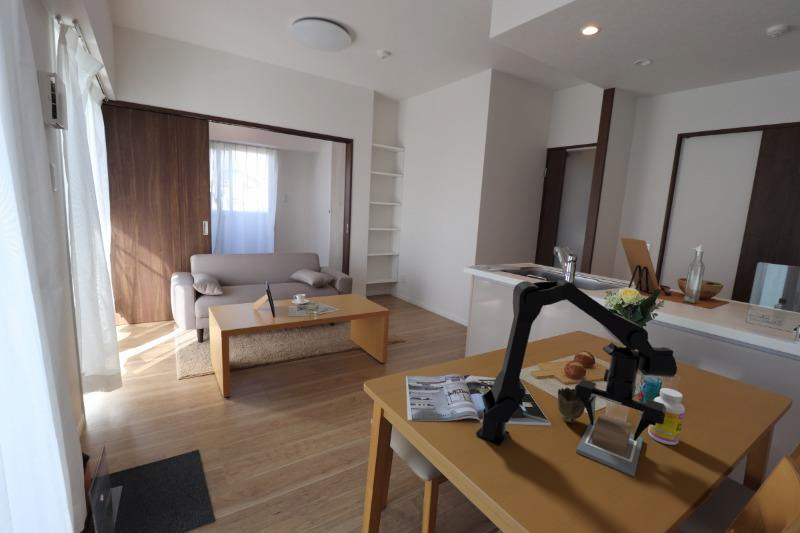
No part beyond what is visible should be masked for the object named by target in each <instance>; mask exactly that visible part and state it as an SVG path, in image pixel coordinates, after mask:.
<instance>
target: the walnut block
mask: <svg viewBox="0 0 800 533" xmlns="http://www.w3.org/2000/svg"><path fill="white" fill-rule="evenodd" d="M632 426H633V424H632V423H631V422H627V421H625V420H623V419H619V418H615V417H613V416H610V415H607V414H605V413H601V412H600V414H599V416H598V417H597V419H596V423H595V427H594V434H593V440H592V443H593V444H595V445H598V446H600V447H603V448H606V449H608V450H611V451H613V452H616V453H618V454H621V455H623V456H625V453H626V450H627V446H628V443H629V438H630V433H631V431H632Z"/></svg>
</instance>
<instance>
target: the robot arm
mask: <svg viewBox="0 0 800 533" xmlns="http://www.w3.org/2000/svg"><path fill="white" fill-rule="evenodd" d="M512 291H513V292H512V309H513V310H512V311H513V320H512V324H511V328H510V332H509V337H508V341H507V345H506V350H505V353H504V360H503V363H502V367H501V369H500V370H501V371H500V372H499V373H498V374H497V376H496V377H495V379H494V382H493V384H492V386H491V388H490V389H489V390H488V391H486V392H485V393H484V394H483V395H481V398H482V402H483V407H484V408H483V412H482V422H481V427H480V428H479V429H478V430H477V431H476V432H475V436H477V437H480V438H481V439H484V440H486V441H488V442H490V443H492V444H495V445H496V446H502V444H503V443H504V442H505V440H507V438H508V437H509V436H510V431H507V430H506V425H507V423H509V422H510V420H511V418H512V416H513V415H514V413H516V412H517V411H518V410H519V409H520V406H523V405H524V404H523V400H524V396H525V394H526V388H525V386H524V384H523V382H522V380H521V378H520V377H521V372H522V368H523V364H524V359H525V356H526V350H527V347H528V343H529V338H530V334H531V330H532V327H533V326H532V325H533V323H534V322H535V321H536V319H537V318H538V316H540V313H541V311H542V308H543V307H544V306H550V305H555V304H556V303H559V302H563V301H568V302H570V304H572V305H574V306H575V307H577V308H578V309H579V310H581V311H582V312H583V313H585V314H586V315H588V316H589V317H591V318H592V319H593V320H595V321H597V322H598V323H599V324H600V325H601V326H602V327H603V329H604V330H605V331H606V332H607V333H608V334H609V335H610V336H611V337H612V338H613V339H614V340H616V342H619V344H621V345H622V346H618V345H616V344H615V343H614V342H610V343H609V344H607V345H605V346H603V347H602V351H604V353H606V354H607V355H609V356H610V363H609V368H608V369H607V368H606V369H605V372H604V376H603V382H605V383H606V388H605V390H602V389H599V388H597V382H593V381H589V380H587V379H583V378H581V379H580V380H579V381H578V382H577V384H575V387H574V389H575V391H574V395H575V396H577V397H580V398H579V400H580V401H582V402H583V403H584V405H585V410H586V412H587V415H588V419H589V423H590V422H591V425H593V424H594V420H595V419H596V418H595V417H596V398H600V399H603V400H605V401H609V402H612V403H615V404H619V405H622V406H624V407H627V408H630V409H634V410H637V411H640V412H642V413H641V415H640V418H639V421H638V423H637V426H636V429H635V431H634V434H635V435H634V441H636V440H637V438H638V437H639V436H640V435H641V434H642V433H643V431H645V430H646V429H647V428H649V425H656V423H658V424H663V423H664V418H665V412H666V406H665V405H664V404H662V403H659V402H656V401H654V399H649V398H646V401H645V403H644V402H642V401H638V400H635V399H634V397H635V395H636V389H637V386H636V382H637V377H638V371H640V373H641V374H642V375H643V376H648V377H649V376H651V377H662V378H673V377H675V375H676V374H677V371H678V367H677V361H676V358H675V357H674V350H673V349H671V348H669V347H666V346H665V347H655V346H654V347H653V346H652V344H651V343H650V341H649V333H648V331H647V330H646V329H645V328H644V327H642V326H641V325H639V324H637V323H635V322H634V321H632V320H630V319H628V318H625V317H623V316H621V315H619V314H617V313H614V312H613V311H611V310H610V309H608V308H606V307H605V306H604V305H602V304H601V303H599V302H598V301H596V300H595V299H594V298H592V297H591V296H589V295H588V294H587V293H585V292H584V291H582V290H580V289H579V288H578V287H577V286H576V285H575V284H574V283H572V282H571V281H568V280H566V279H559V280H553V281H552V280H551V281H537V282H536V281H535V282H532V281H529V280H524V281H519V283H517V284H515V286H514V287H513V290H512ZM640 437H641V436H640Z"/></svg>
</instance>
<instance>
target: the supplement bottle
mask: <svg viewBox="0 0 800 533" xmlns="http://www.w3.org/2000/svg"><path fill="white" fill-rule="evenodd" d="M682 400H683V394H682V393H681V392H679V391H678V390H675V389H672V388H669V387H662V388H660V390H659V396H657V397H655V398H654V399H653V401H656V402H659V403H662V404H664V405H665V406H666V412H665V418H664V423H663V424H658V423H656V425H649V426H648V430H647V431H648V432H647V433H648V434H649V436H650V437H651V438H652V439H653V440H655V441H657V442H659V443H661V444H663V445H664V444H665V445H669V446H670V445H671V446H674V445H677V444H679V443H680V442H679V441H680V438H681V433H682V426H683V421H684V416H685V410H686V408H685V406H684V405H683V403H681V402H682Z"/></svg>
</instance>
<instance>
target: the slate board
mask: <svg viewBox="0 0 800 533" xmlns="http://www.w3.org/2000/svg"><path fill="white" fill-rule="evenodd" d="M596 421H597V419H596V420H594V424H593V425H591V422H590V421H589V424H588V425H587V427H586V430H585V431H584V433H583V436H582V438H581V439H580V441H579V443H578V445H577V447H576V451H575V453H577V454H578V455H582V456H584V457H587V458H588V459H591V460H593V461H597V462H598V463H601V464H603V465H606V466H608V467H610V468H612V469H615V470H618V471H619V472H622V473H623V474H627V475H629V476H631V477H635V475H636V471H637V470H636V469H637V467H638V466H637V465H638V462H639V458H640V454H641V450H642V445H643V439H644V437H643V436H639V437H638V438H637V440H636V441H634V435H635V433H631V432H630V438H629V443H628V446H627V450H626V453H625V456H623V455H621V454H618V453H616V452H613V451H611V450H608V449H606V448H603V447H600V446H598V445H595V444H593V443H592V440H593V434H594V427H595V423H596Z"/></svg>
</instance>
